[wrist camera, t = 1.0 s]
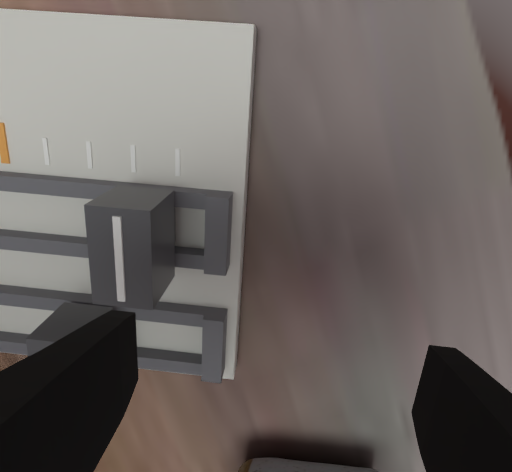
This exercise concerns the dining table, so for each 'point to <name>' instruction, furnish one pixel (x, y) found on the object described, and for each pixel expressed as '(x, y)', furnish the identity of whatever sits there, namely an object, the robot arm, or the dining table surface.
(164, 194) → the fader knob
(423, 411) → the robot arm
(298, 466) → the ceramic mug
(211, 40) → the mixing board
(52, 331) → the fader knob
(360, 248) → the dining table surface
